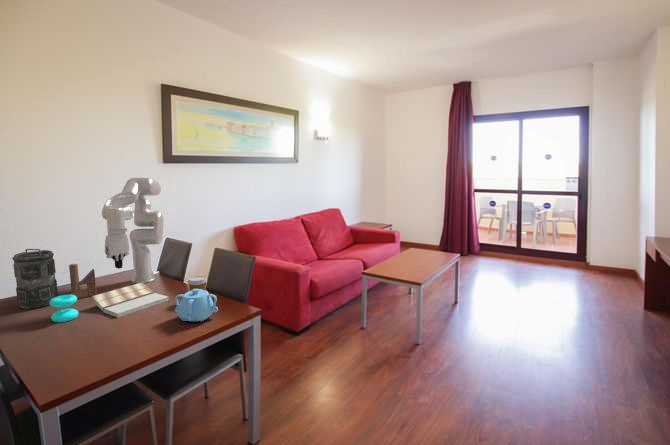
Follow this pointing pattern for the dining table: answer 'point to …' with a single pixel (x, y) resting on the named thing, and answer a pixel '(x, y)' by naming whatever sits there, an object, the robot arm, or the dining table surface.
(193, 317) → the decorative pot
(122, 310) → the board
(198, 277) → the glass of beer
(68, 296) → the donuts
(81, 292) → the wooden block
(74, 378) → the dining table surface
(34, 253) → the canister
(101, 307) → the plank
